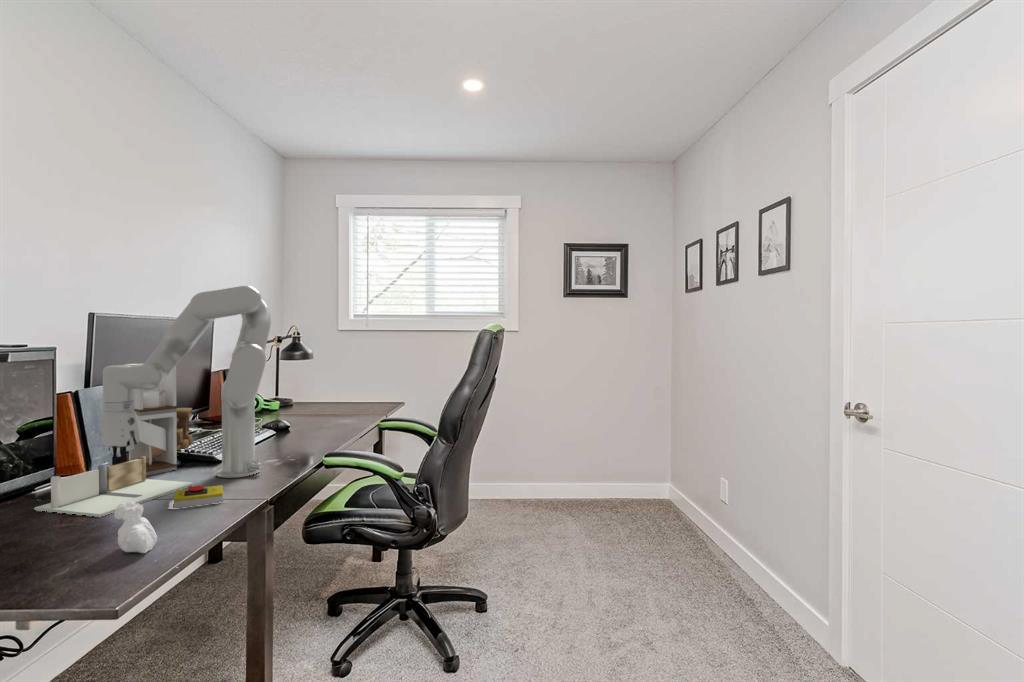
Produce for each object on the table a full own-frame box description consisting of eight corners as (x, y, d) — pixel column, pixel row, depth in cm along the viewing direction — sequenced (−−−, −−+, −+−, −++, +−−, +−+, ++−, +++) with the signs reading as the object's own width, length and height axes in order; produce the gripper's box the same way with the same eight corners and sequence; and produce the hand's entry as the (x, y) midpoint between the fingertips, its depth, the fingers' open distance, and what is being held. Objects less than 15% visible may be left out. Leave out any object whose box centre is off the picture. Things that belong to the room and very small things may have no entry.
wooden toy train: (160, 452, 208) (160, 408, 207) (195, 449, 212) (194, 406, 212) (149, 464, 189) (149, 415, 189) (187, 461, 194) (187, 414, 194)
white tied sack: (138, 550, 121) (98, 514, 117) (170, 524, 123) (132, 489, 120) (133, 570, 110) (89, 532, 107) (168, 541, 113) (127, 504, 110)
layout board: (194, 485, 163) (193, 482, 163) (100, 517, 135) (100, 513, 135) (136, 480, 168) (136, 477, 168) (34, 510, 140) (34, 507, 140)
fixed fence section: (103, 491, 153) (102, 464, 153) (108, 492, 153) (108, 464, 153) (48, 508, 139) (48, 477, 139) (55, 508, 139) (54, 478, 139)
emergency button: (169, 486, 148) (231, 479, 156) (169, 502, 148) (231, 495, 156) (166, 495, 140) (232, 487, 147) (166, 512, 140) (232, 504, 147)
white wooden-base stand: (125, 471, 179) (124, 364, 178) (161, 465, 188) (160, 362, 187) (140, 476, 172) (139, 365, 172) (176, 470, 181) (176, 363, 181)
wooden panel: (110, 490, 153) (110, 465, 153) (105, 490, 154) (104, 465, 154) (147, 479, 165) (147, 456, 165) (142, 479, 165) (142, 455, 165)
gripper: (149, 406, 163) (150, 468, 163) (113, 404, 167) (113, 464, 168) (125, 410, 156) (125, 474, 156) (87, 407, 160) (88, 470, 161)
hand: (119, 469), depth 162 cm, fingers closed
